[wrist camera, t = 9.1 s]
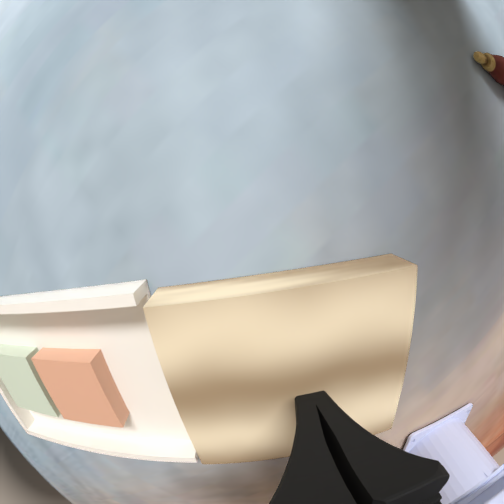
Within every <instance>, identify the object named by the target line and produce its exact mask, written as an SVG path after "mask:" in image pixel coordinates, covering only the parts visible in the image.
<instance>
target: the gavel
mask: <svg viewBox="0 0 504 504" xmlns="http://www.w3.org/2000/svg"><path fill="white" fill-rule="evenodd" d="M473 56H474V59H475V60H476V61H477V62H478V63H480V64H481V65H482V67H483V68H484V69H485V70H486V71H487V72H488V73H489V74H490V75H491V76H492V77H493V78H494V79H495V80H496V82H498V83H500V84H502V85H503V86H504V57H502V56H499V55H492V54H489V53H484V54H483V53H481V52H479V51H476V52H474V55H473Z"/></svg>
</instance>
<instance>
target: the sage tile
mask: <svg viewBox="0 0 504 504" xmlns="http://www.w3.org/2000/svg"><path fill="white" fill-rule="evenodd" d="M38 351H39V350H38V348H37V347H32V346H19V345H8V344H0V377H1V379H2V380H3V382H4V384H5V386H6V388H7V390H8V391H9V393H10V395H11V396H12V398H13V400H14V401H15V403H16V405H17V406H18V407H21V408H24V409H27V410H31V411H35V412H38V413H42V414H46V415H50V416H54V417H59V415H60V414H61V413H60V412H59V410H58V408H57V407H56V405H55V403H54V402H53V400H52V398H51V396H50V395H49V393H48V391H47V389H46V387H45V386H44V384H43V382H42V380H41V378H40V376H39V374H38V372H37V370H36V368H35V366H34V364H33V362H32V360H31V358H32V357H33V356H34V355H35V354H36V353H37V352H38Z"/></svg>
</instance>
